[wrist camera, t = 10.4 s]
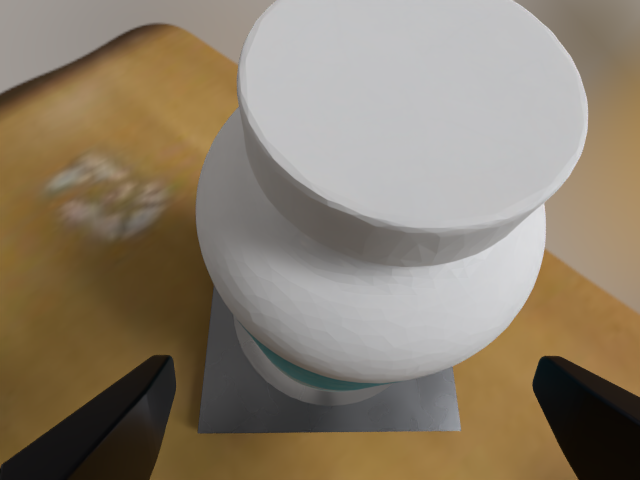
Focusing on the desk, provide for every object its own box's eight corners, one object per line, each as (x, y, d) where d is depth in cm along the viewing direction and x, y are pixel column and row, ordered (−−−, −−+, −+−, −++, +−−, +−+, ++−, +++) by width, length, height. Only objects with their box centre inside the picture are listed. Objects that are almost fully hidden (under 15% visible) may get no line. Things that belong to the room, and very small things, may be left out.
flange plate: (451, 428, 17) (463, 431, 16) (203, 431, 16) (196, 433, 15) (424, 210, 21) (431, 200, 20) (227, 205, 20) (223, 194, 19)
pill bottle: (437, 362, 16) (859, 262, 4) (275, 416, 15) (164, 503, 3) (379, 216, 19) (525, -114, 7) (237, 253, 18) (95, -65, 6)
